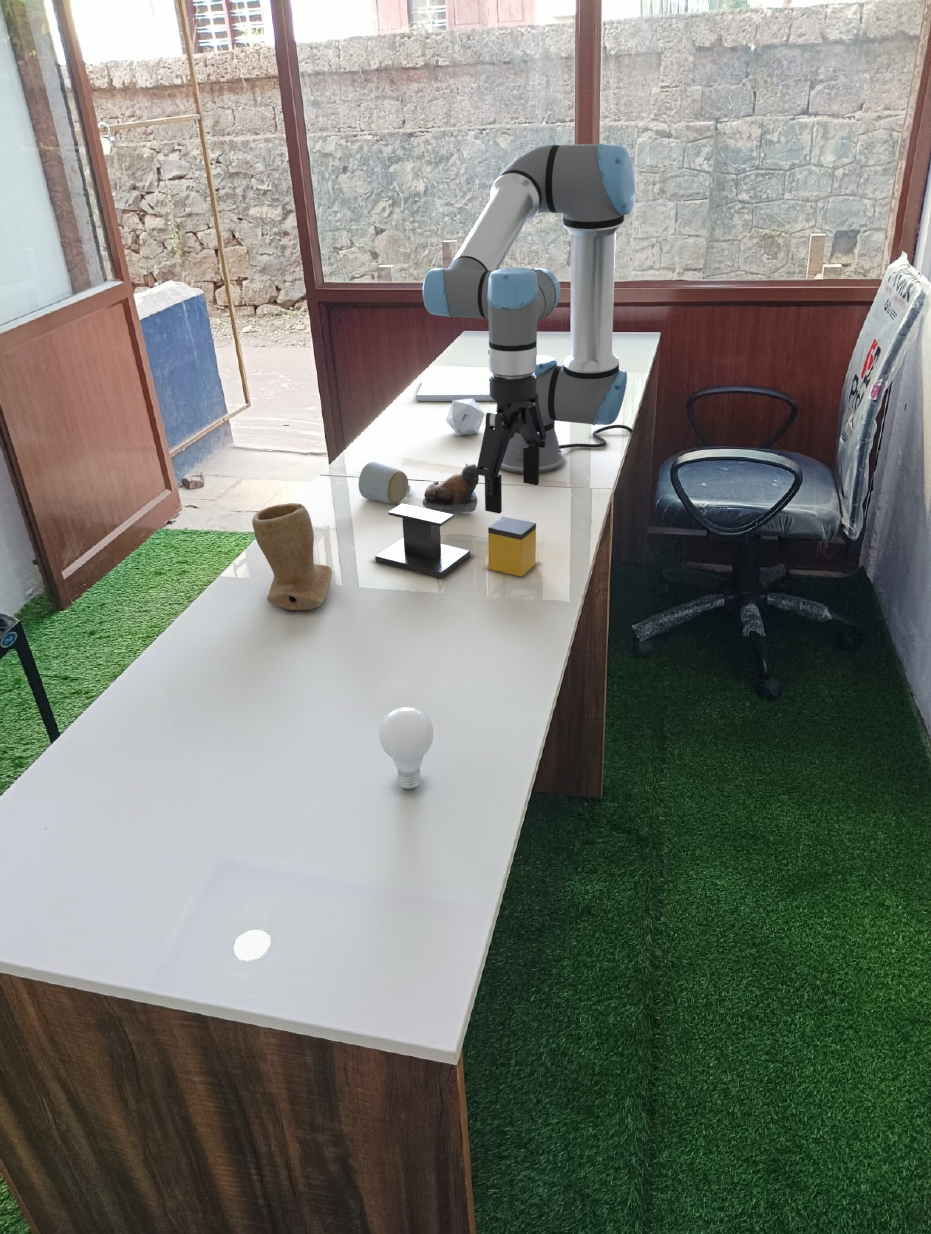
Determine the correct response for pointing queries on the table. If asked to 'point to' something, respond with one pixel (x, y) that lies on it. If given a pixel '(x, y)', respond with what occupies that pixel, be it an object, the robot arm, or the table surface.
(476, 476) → the brown animal-shaped figure
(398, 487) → the ceramic mug
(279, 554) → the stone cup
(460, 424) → the die
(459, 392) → the computer keyboard
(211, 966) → the table surface
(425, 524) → the stand
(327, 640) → the table surface
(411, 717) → the lightbulb
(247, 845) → the table surface
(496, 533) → the block
